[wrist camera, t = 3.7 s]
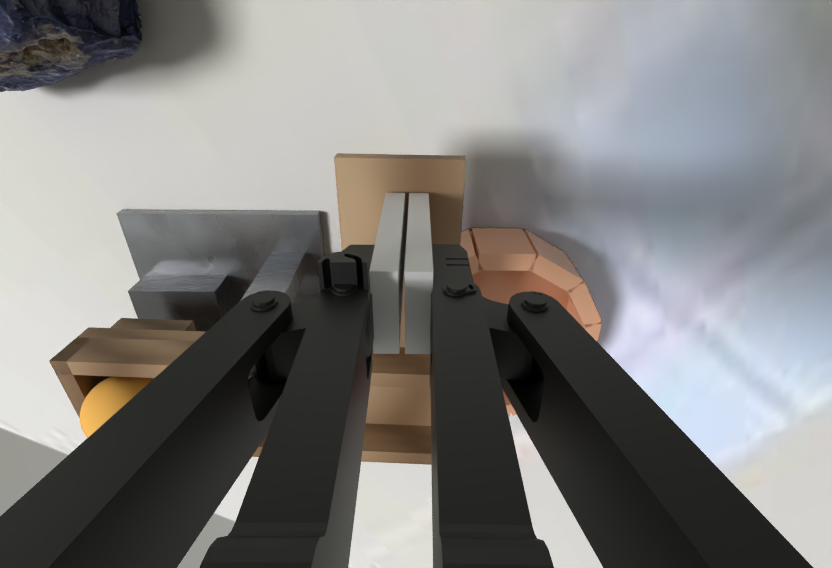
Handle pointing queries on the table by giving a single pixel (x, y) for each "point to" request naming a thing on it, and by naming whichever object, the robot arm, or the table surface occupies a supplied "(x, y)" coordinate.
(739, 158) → the table surface
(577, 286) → the terracotta bowl
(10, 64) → the rock
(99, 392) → the ball
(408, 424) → the lever
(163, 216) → the pivot base
